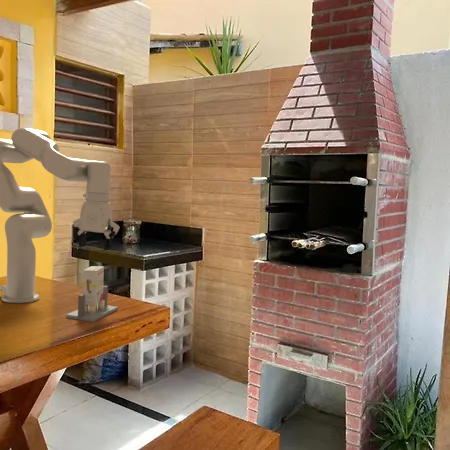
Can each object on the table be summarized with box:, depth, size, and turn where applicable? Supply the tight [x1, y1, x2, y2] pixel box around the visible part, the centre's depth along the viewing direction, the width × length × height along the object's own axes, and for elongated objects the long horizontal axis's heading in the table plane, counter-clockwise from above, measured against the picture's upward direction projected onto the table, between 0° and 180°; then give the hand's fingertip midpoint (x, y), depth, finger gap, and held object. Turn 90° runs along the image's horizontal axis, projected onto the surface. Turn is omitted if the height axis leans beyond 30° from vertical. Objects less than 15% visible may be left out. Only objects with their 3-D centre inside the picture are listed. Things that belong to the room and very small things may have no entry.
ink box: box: [81, 265, 105, 305], centre depth 157 cm, size 9×5×12 cm, turn 178°
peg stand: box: [65, 285, 119, 322], centre depth 158 cm, size 10×16×8 cm, turn 164°
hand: (94, 248), depth 157 cm, fingers open, 9 cm apart
